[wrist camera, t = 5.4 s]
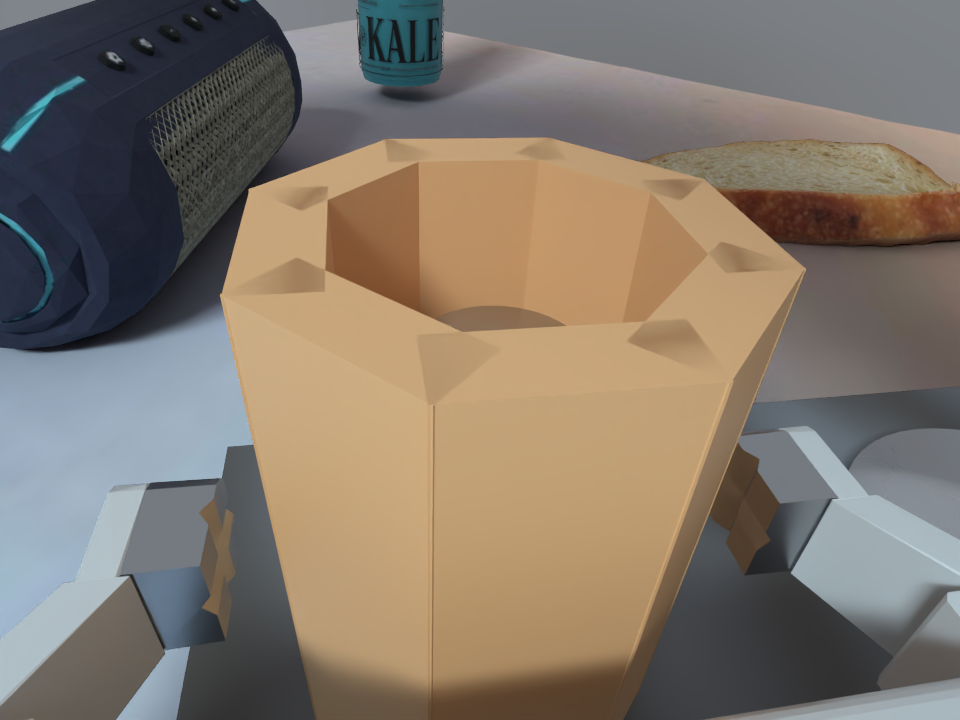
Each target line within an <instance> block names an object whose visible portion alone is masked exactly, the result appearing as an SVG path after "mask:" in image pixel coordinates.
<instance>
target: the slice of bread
mask: <svg viewBox="0 0 960 720" xmlns="http://www.w3.org/2000/svg"><path fill="white" fill-rule="evenodd" d="M640 162H642V163H646V164H649V165H653V166H657V167H660V168H664V169H668V170H672V171H675V172H679V173H683V174H687V175H690V176H694V177H698V178H701V179H705V180H706V181H707V182H708V183H709V184H710V185H711V186H713V187H714V188H715V189H716V190H717V191H718V192H719V193H720V194H722V195H723V196H724V197H725V198H726V199H727V200H728V201H730V202H731V203H732V204H733V205H734V206H735V207H736V208H737V209H739V210H740V211H741V212H742V213H743V214H744V215H745V216H747V217H748V218H749V219H750V220H751V221H752V222H753V223H754V224H756V225H757V226H758V227H759V228H760V229H761V230H762V231H763V232H765V233H766V234H767V235H768V236H769V237H770V238H771V239H773V240H774V241H775V242H779V243H782V242H786V243H798V244H809V245H842V246H859V245H874V246H881V247H889V246H893V245H897V244H913V245H923V244H926V243H929V242H932V241H947V240H960V184H957V183H954V182H952V187H951V186H950V185H949V184H947V183H946V182H945V181H943V180H942V179H941V178H939V177H938V176H937V175H936V174H935V173H934V172H933V171H932V170H931V169H930V168H928V167H927V166H925V165H924V164H922V163H921V162H919V161H918V160H916V159H915V158H913V157H912V156H910V155H908V154H906V153H905V152H903V151H901V150H899V149H898V148H896V147H893V146H891V145H888V144H883V143H839V142H825V141H819V140H812V139H806V140H781V141H774V142H766V141H752V142H744V141H743V142H738V143H731V144H727V145H724V146H721V147H708V148H701V149H695V150H684V151H679V152H673V153H666V154H662V155H660V156H657V157H654V158H652V159H649V160H645V161H640Z"/></svg>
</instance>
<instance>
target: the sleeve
mask: <svg viewBox="0 0 960 720" xmlns="http://www.w3.org/2000/svg"><path fill="white" fill-rule="evenodd" d="M248 190H249V194H248V197H247V201H246V205H245V209H244V212H243V216H242V220H241V224H240V227H239V231H238V235H237V239H236V242H235V246H234V250H233V253H232V257H231V261H230V265H229V268H228V272H227V276H226V280H225V283H224V287H223V291H222V293H221V294H220V298H221V302H222V307H223V311H224V315H225V320H226V324H227V329H228V333H229V338H230V342H231V347H232V351H233V355H234V360H235V364H236V369H237V373H238V378H239V382H240V386H241V391H242V395H243V400H244V404H245V409H246V413H247V418H248V422H249V426H250V431H251V435H252V440H253V444H254V449H255V453H256V458H257V462H258V466H259V471H260V475H261V480H262V484H263V489H264V493H265V497H266V502H267V506H268V511H269V515H270V520H271V524H272V529H273V533H274V537H275V542H276V546H277V551H278V555H279V560H280V564H281V568H282V573H283V577H284V582H285V586H286V591H287V595H288V600H289V604H290V608H291V613H292V617H293V622H294V626H295V631H296V635H297V639H298V644H299V648H300V653H301V657H302V662H303V666H304V671H305V675H306V679H307V684H308V688H309V693H310V697H311V702H312V706H313V711H314V715H315V719H316V720H623V719H624V718H625V716H626V714H627V712H628V710H629V708H630V706H631V704H632V702H633V700H634V698H635V696H636V694H638V692H639V689H640V687H641V684H642V682H643V679H644V677H645V674H646V672H647V669H648V667H649V664H650V662H651V659H652V657H653V654H654V652H655V649H656V646H657V644H658V641H659V639H660V636H661V634H662V631H663V629H664V626H665V624H666V621H667V619H668V616H669V614H670V611H671V609H672V606H673V604H674V601H675V599H676V596H677V594H678V591H679V589H680V586H681V584H682V581H683V578H684V576H685V573H686V571H687V568H688V566H689V563H690V561H691V558H692V556H693V553H694V551H695V548H696V546H697V543H698V541H699V538H700V536H701V533H702V531H703V528H704V526H705V523H706V521H707V518H708V516H709V513H710V510H711V508H712V505H713V503H714V500H715V498H716V495H717V493H718V490H719V488H720V485H721V483H722V480H723V478H724V475H725V473H726V470H727V468H728V465H729V463H730V460H731V458H732V455H733V453H734V450H735V447H736V445H737V442H738V440H739V437H740V435H741V432H742V430H743V427H744V425H745V422H746V420H747V417H748V415H749V412H750V410H751V407H752V405H753V402H754V400H755V397H756V395H757V392H758V390H759V387H760V385H761V382H762V379H763V377H764V374H765V372H766V369H767V367H768V364H769V362H770V359H771V357H772V354H773V352H774V349H775V347H776V344H777V342H778V339H779V337H780V334H781V332H782V329H783V327H784V324H785V322H786V319H787V317H788V314H789V311H790V309H791V306H792V304H793V301H794V299H795V296H796V294H797V291H798V289H799V286H800V284H801V281H802V279H803V276H804V274H805V271H806V269H805V268H806V267H803V266H802V265H801V264H800V263H799V262H797V261H796V260H795V259H794V258H793V257H792V256H791V255H790V254H788V253H787V252H786V251H785V250H784V249H783V248H782V247H780V246H779V245H778V244H777V243H776V242H775V241H774V240H773V239H771V238H770V237H769V236H768V235H767V234H766V233H765V232H763V231H762V230H761V229H760V228H759V227H758V226H757V225H756V224H754V223H753V222H752V221H751V220H750V219H749V218H748V217H747V216H745V215H744V214H743V213H742V212H741V211H740V210H739V209H737V208H736V207H735V206H734V205H733V204H732V203H731V202H730V201H728V200H727V199H726V198H725V197H724V196H723V195H722V194H720V193H719V192H718V191H717V190H716V189H715V188H714V187H713V186H711V185H710V184H709V183H708V182H707V181H706V180H705V179H701V178H698V177H694V176H690V175H687V174H683V173H679V172H675V171H672V170H668V169H664V168H660V167H657V166H653V165H649V164H646V163H642V162H638V161H634V160H631V159H627V158H623V157H619V156H616V155H612V154H608V153H605V152H601V151H597V150H593V149H590V148H586V147H582V146H578V145H575V144H571V143H567V142H564V141H560V140H556V139H552V138H550V137H547V138H443V139H385V140H382V141H379V142H377V143H374V144H371V145H369V146H366V147H363V148H360V149H358V150H355V151H352V152H349V153H347V154H344V155H341V156H338V157H336V158H333V159H330V160H327V161H325V162H322V163H319V164H316V165H314V166H311V167H308V168H306V169H303V170H300V171H297V172H295V173H292V174H289V175H286V176H284V177H281V178H278V179H275V180H273V181H270V182H267V183H264V184H262V185H259V186H256V187H253V188H250V189H248ZM478 306H508V307H516V308H522V309H527V310H531V311H534V312H538V313H541V314H543V315H546V316H549V317H551V318H553V319H555V320H557V321H559V322H561V323H563V324H564V325H566V326H558V327H541V328H524V329H507V330H490V331H473V332H462V331H459V330H457V329H455V328H453V327H451V326H448V325H446V324H444V323H442V322H439V321H437V320H435V319H436V318H438V317H440V316H442V315H445V314H447V313H450V312H453V311H456V310H460V309H464V308H470V307H478Z"/></svg>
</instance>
